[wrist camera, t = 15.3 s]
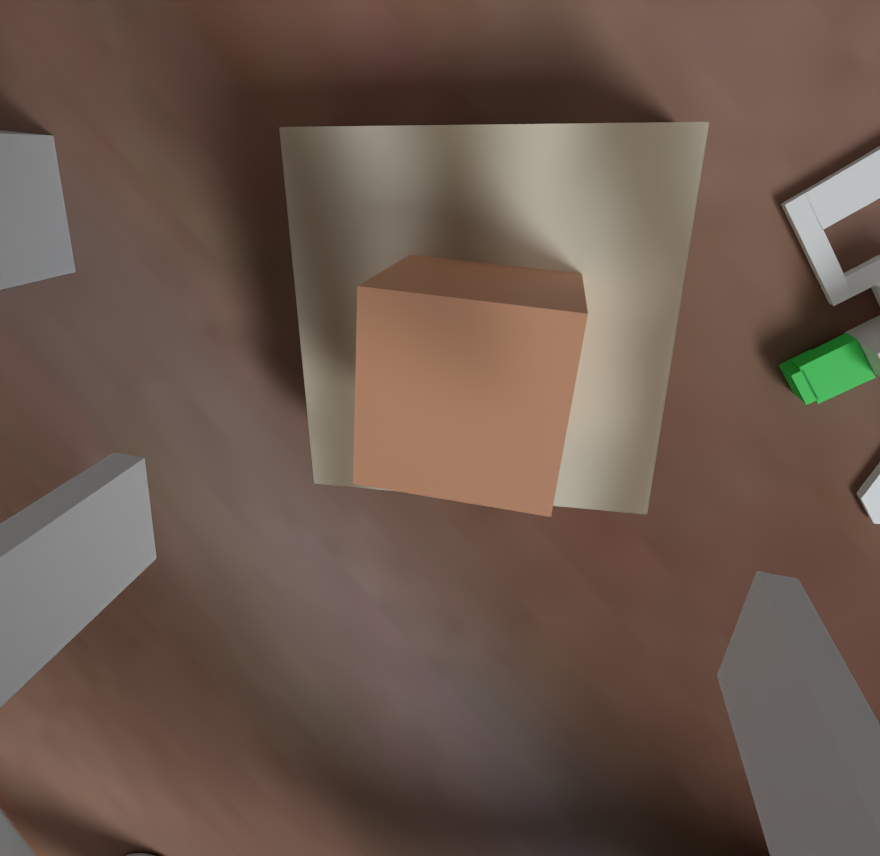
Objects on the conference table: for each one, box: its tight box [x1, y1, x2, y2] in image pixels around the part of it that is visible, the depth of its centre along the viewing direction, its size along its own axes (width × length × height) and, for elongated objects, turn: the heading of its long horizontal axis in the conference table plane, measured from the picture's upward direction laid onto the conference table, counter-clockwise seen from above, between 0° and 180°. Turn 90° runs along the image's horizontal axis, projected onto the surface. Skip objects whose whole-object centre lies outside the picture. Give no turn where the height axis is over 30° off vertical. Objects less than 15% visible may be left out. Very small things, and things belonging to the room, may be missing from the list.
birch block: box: [279, 122, 709, 514], centre depth 28 cm, size 16×16×6 cm
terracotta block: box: [353, 255, 588, 517], centre depth 23 cm, size 7×7×7 cm
